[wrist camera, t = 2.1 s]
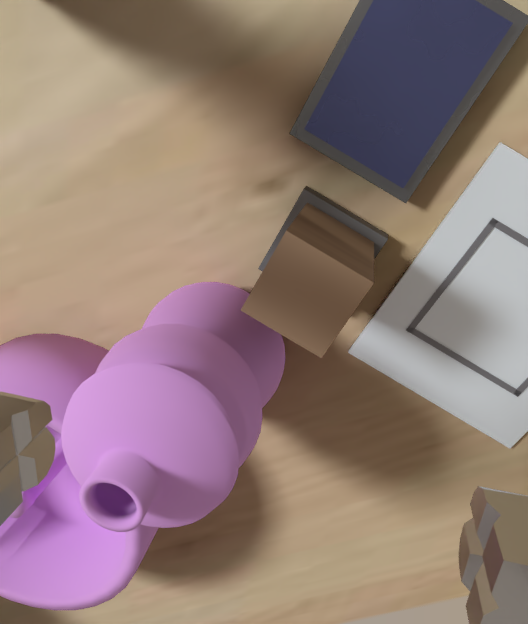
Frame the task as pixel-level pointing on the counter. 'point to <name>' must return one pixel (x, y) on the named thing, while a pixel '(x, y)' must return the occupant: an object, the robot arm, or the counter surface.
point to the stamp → (315, 272)
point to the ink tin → (404, 84)
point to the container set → (133, 440)
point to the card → (466, 307)
